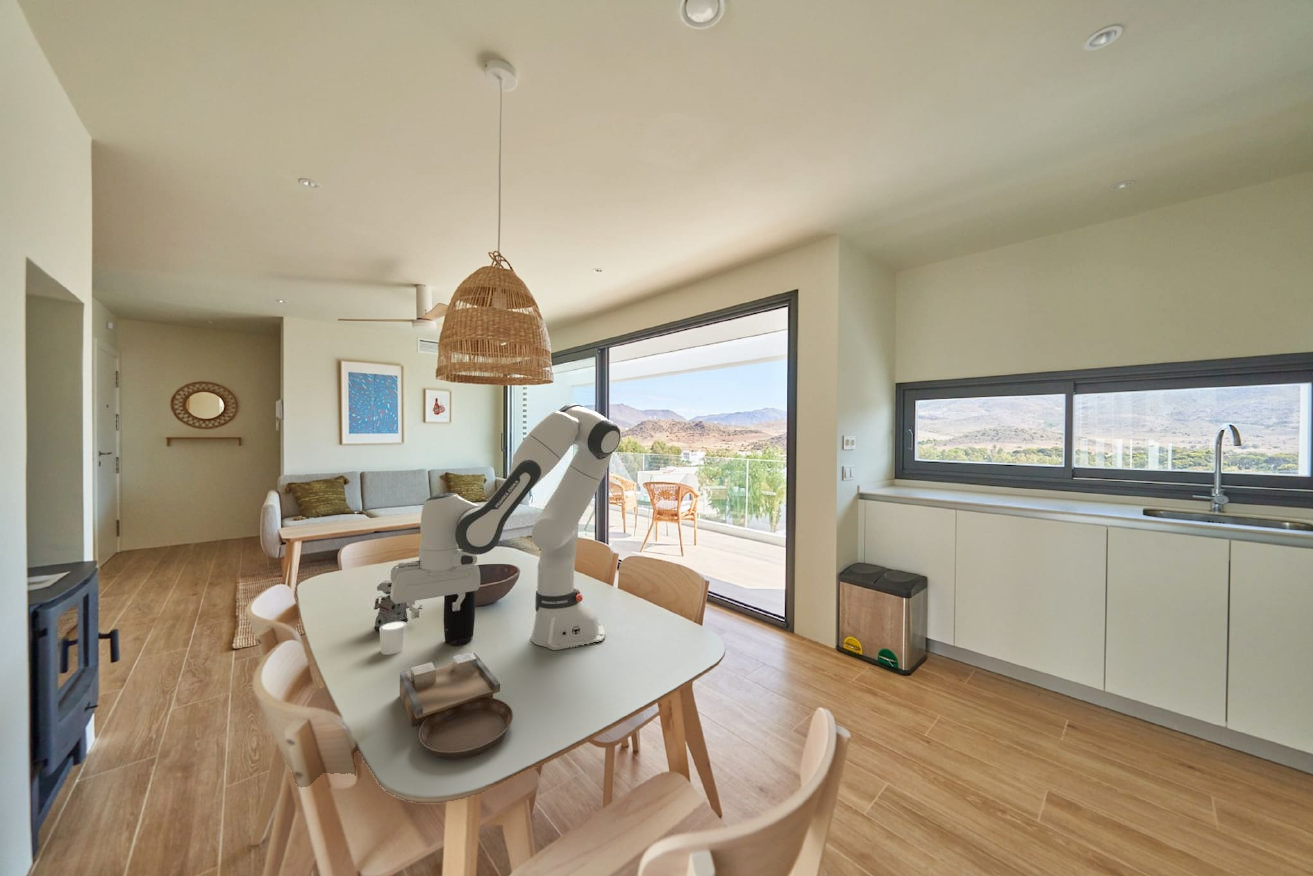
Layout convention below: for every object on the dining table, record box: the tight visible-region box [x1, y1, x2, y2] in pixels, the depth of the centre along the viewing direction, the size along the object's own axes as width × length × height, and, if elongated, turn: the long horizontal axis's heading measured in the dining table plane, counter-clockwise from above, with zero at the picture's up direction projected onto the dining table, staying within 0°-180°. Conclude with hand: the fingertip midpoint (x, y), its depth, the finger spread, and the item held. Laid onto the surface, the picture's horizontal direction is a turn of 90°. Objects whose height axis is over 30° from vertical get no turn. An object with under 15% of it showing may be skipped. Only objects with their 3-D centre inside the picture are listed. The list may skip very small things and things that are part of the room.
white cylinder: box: [378, 621, 408, 656], centre depth 130 cm, size 7×7×7 cm
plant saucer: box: [418, 697, 514, 760], centre depth 93 cm, size 18×18×3 cm
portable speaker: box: [443, 591, 476, 647], centre depth 137 cm, size 9×9×20 cm
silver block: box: [451, 651, 477, 676], centre depth 111 cm, size 4×4×3 cm
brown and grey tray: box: [399, 652, 501, 726], centre depth 105 cm, size 18×17×5 cm
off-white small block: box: [410, 661, 437, 689], centre depth 105 cm, size 4×4×3 cm
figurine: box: [373, 579, 423, 632], centre depth 145 cm, size 9×12×15 cm
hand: (436, 613), depth 114 cm, fingers open, 8 cm apart
